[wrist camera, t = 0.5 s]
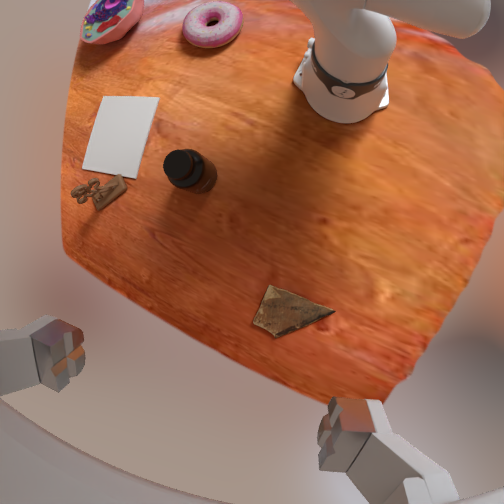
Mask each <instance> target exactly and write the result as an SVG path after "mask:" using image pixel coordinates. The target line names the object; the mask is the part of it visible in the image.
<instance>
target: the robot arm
mask: <svg viewBox="0 0 504 504" xmlns="http://www.w3.org/2000/svg"><path fill="white" fill-rule="evenodd" d="M289 1H291V2H292V3H293V4H294V5H296V6H297V7H298V8H299V9H300V10H301V11H302V12H303V13H304V14H305V15H306V16H307V18H308V19H309V20H310V22H311V23H312V25H313V29H314V37H315V38H310V39H309V42H308V46H307V47H308V48H309V49H308V51H307V52H306V53H305V55H304V58H303V60H302V62H301V64H300V66H299V68H298V70H297V72H296V73H295V75H294V78H293V82H294V84H295V85H296V86H297V87H298V88H299V89H301V90H302V91H303V93H304V94H305V96H306V98H307V101H308V102H309V104H310V105H311V107H312V108H313V109H314V110H315V111H316V112H317V113H318V114H320V115H321V116H323V117H324V118H326V119H329V120H331V121H334V122H338V123H354V122H358V121H361V120H363V119H365V118H367V117H368V116H369V115H370V114H371V113H373V112H374V111H376V110H379V109H383V108H386V107H387V106H388V104H389V94H388V84H387V75H386V73H387V68H388V61H389V59H390V57H391V55H392V53H393V51H394V48H395V46H396V32H395V29H394V26H393V24H392V22H391V20H390V19H389V17H391V18H394V19H397V20H400V21H403V22H406V23H408V24H411V25H414V26H416V27H419V28H421V29H425V30H429V31H433V32H437V33H440V34H445V35H448V36H452V37H456V38H460V39H464V38H467V37H470V36H472V35H474V34H476V33H477V32H478V31H480V30H481V29H482V28H483V26H484V25H485V24H486V22H487V20H488V17H489V14H490V8H491V1H490V0H289ZM301 74H302V76H300V75H301ZM83 342H84V336H83V332H82V330H81V329H79V328H77V327H75V326H73V325H70V324H68V323H66V322H64V321H62V320H60V319H58V318H56V317H53V316H51V315H44V316H42V317H41V318H39V319H38V320H35V321H34V322H32V323H30V324H28V325H27V326H25V327H23V328H21V329H20V330H17V329H7V330H0V396H2V395H5V394H9V393H12V392H16V391H19V390H22V389H26V388H29V387H32V386H35V385H38V384H40V383H41V384H43V385H45V386H47V387H49V388H51V389H53V390H55V391H56V392H60V391H61V390H62V389H63V388H64V387H65V386H66V385H67V384H69V378H70V377H74V376H77V375H78V374H79V373H80V372H81V371H82V369H83V367H84V365H85V351H84V349H83V348H82V346H81V344H82V343H83ZM317 441H318V445H319V446H320V447H321V448H322V449H321V451H320V452H319V454H318V456H319V470H321V471H331V472H345V473H346V474H347V476H348V477H349V478H350V480H351V481H352V482H353V483H354V485H355V486H356V487H357V489H358V490H359V491H360V492H361V493H362V495H363V496H364V497H365V498H366V500H367V501H368V502H369V503H370V504H504V486H503V487H501V488H498V489H495V490H492V491H489V492H486V493H482V494H479V495H476V496H473V497H469V498H465V499H461V500H460V498H459V496H458V493H457V491H456V489H455V486H454V484H453V482H452V479H451V477H450V474H449V472H447V471H446V470H445V469H443V468H442V467H441V466H439V465H438V464H436V463H435V462H434V461H432V460H431V459H430V458H428V457H427V456H426V455H424V454H423V453H421V452H420V451H419V450H418V449H416V448H415V447H414V446H412V445H411V444H410V443H408V442H407V441H406V440H405V439H403V438H402V437H401V436H399V435H398V434H393V433H392V430H391V427H390V424H389V422H388V419H387V417H386V414H385V411H384V408H383V406H382V403H381V401H379V400H371V399H364V400H363V399H352V398H343V397H334V396H333V397H332V399H331V400H330V402H329V404H328V414H327V415H325V416H323V418H322V420H321V423H320V426H319V430H318V437H317ZM0 504H231V503H226V502H222V501H217V500H212V499H209V498H205V497H201V496H197V495H193V494H190V493H186V492H183V491H179V490H176V489H173V488H170V487H167V486H164V485H161V484H158V483H155V482H152V481H149V480H147V479H144V478H141V477H139V476H136V475H134V474H131V473H129V472H126V471H124V470H122V469H119V468H117V467H115V466H112V465H110V464H108V463H106V462H104V461H102V460H99V459H97V458H95V457H93V456H91V455H89V454H87V453H85V452H83V451H81V450H80V449H78V448H76V447H74V446H72V445H70V444H69V443H67V442H65V441H63V440H62V439H60V438H58V437H57V436H55V435H53V434H52V433H50V432H48V431H47V430H45V429H43V428H42V427H40V426H39V425H37V424H36V423H34V422H33V421H31V420H30V419H28V418H27V417H25V416H24V415H22V414H21V413H20V412H18V411H17V410H15V409H14V408H13V407H11V406H10V405H9V404H7V403H6V402H5V401H3V400H2V399H1V398H0Z"/></svg>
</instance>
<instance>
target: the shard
mask: <svg viewBox="0 0 504 504" xmlns="http://www.w3.org/2000/svg"><path fill="white" fill-rule="evenodd" d="M334 312H336V311H334V310H332V309H331V308H327V307H325V306H322V305H318V304H315V303H313V302H311V301H309V300H308V299H305V298H303V297H300V296H298V295H296V294H293V293H291V292H289V291H287V290H284V289H279V288H277V287H274V286H272V285H269V286H268V288H267V291H266V294H265V295H264V298H263V300H262V303H261V306H260V309H259V310H258V312H257V314H256V316H255V318H254V320H253V323H254V324H255V325H257V326H260V327H262V328H264V329H266V330H268V331H269V332H270V333H272V334H273V335H274V337H275V338H278V337H280V336H282V335H285V334H287V333H289V332H291V331H295V330H297V329H299V328H302V327H304V326H306V325H309V324H311V323H313V322H315V321H317V320H319V319H320V318H322V317H325V316H327V315H330V314H332V313H334Z"/></svg>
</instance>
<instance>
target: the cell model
mask: <svg viewBox="0 0 504 504" xmlns="http://www.w3.org/2000/svg"><path fill="white" fill-rule="evenodd" d="M143 8H144V0H97V1H96V2H95V3H94V4H93V5H92V6H91V7H90V9H89V10H88V12H87V13H86V15H85V17H84V20H83V22H82V25H81V31H80V39H82V40H83V41H85V42H86V43H91V44H99V45H101V44H107V43H110V42H113V41H117V40H119V39H121V38H122V37H123V36H124V35H125V34H126V33H127V32H128V31H129V30H130V29H131V28H132V27H133V26H134V25H135V24H136V23H137V22H138V21H139V20H140V18H141V16H142V14H143Z"/></svg>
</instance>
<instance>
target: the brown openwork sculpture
mask: <svg viewBox="0 0 504 504" xmlns="http://www.w3.org/2000/svg"><path fill="white" fill-rule="evenodd" d="M95 183H97V184H96V185H95V186H94V189H96V190H91V188H92V186H93V185H94V184H95ZM88 184H89V186H87V185H85V184H84V185H80V186H77V187H76V188H74V189H73V190H72V191H71V196H72V197H73V198H77V202H78V203H79V204H83V203H85V202H86V201H87V200H88V199H87V197H92V199H93V201H94V204H95V206H96V208H97V210H102V209H103V208H104V207H105V206H106V205H108V204H109V203H110V202H111V201H113V200H114V199H115V198H116V197H118V196H119V195H120V194H122V193H123V192H124V191H125V190H127V186H126V184H125V182H124V180H123V177H122V175H121V174H117V175H116V176H115V177H114V178H112V179H111V180H110V181H109V182H108V183H106V184H105V185H104V186H101V187H100V186H99V185H100V182H99V179H98V178H93V179H91V180H89V181H88ZM82 188H83V189H82ZM85 188H86V190H85ZM79 191H80V192H79ZM91 192H92V193H91ZM87 193H89V194H87ZM90 193H91V194H90ZM83 195H84V197H83V198H81V197H82V196H83ZM80 198H81V199H80ZM79 199H80V200H79Z"/></svg>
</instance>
